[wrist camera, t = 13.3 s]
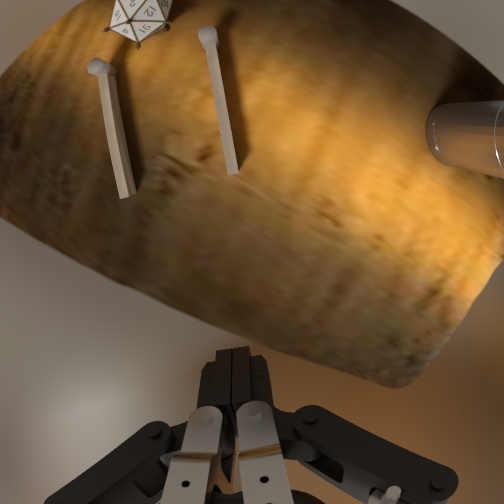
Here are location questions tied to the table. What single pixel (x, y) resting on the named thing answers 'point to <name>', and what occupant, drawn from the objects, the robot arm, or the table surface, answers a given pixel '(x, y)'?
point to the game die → (139, 18)
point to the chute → (114, 117)
